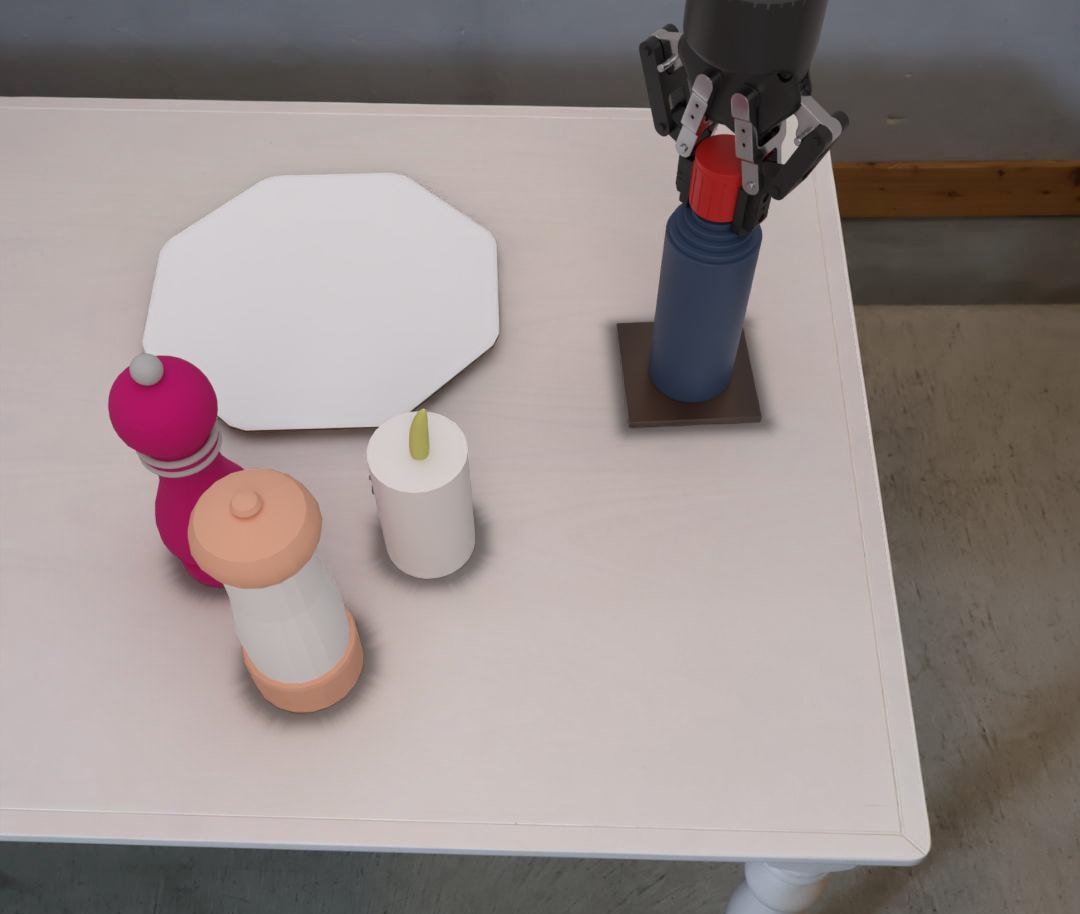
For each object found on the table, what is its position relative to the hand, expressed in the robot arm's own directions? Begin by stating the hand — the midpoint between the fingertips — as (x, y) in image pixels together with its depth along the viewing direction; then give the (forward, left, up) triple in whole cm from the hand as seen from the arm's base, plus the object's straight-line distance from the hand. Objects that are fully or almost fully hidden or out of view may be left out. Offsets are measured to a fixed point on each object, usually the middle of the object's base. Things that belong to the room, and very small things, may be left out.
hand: (718, 211), depth 72 cm
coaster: (0, 0, -16) cm, 16 cm away
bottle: (0, 0, -16) cm, 16 cm away
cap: (0, 0, +1) cm, 1 cm away
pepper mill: (+34, +14, -16) cm, 40 cm away
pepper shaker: (+28, +23, -16) cm, 40 cm away
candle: (+20, +14, -16) cm, 30 cm away
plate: (+28, -9, -16) cm, 34 cm away
